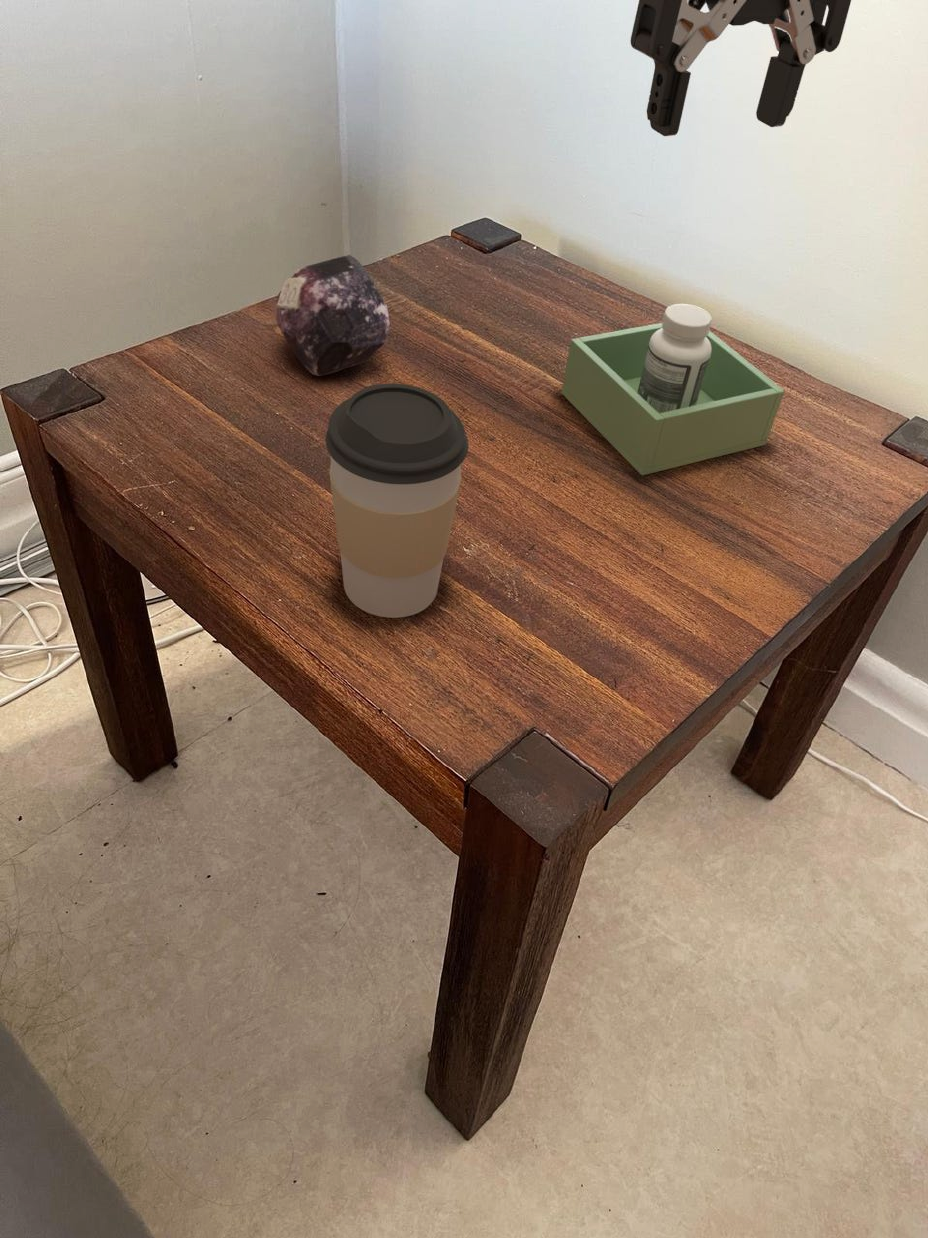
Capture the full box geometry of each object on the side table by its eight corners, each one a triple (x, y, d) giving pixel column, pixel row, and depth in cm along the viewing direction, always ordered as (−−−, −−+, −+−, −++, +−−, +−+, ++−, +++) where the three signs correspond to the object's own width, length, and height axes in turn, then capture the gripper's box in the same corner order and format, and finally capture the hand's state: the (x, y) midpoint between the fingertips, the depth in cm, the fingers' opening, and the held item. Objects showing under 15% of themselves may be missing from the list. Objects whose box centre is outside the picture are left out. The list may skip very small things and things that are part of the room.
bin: (678, 369, 96) (692, 316, 92) (765, 444, 88) (785, 390, 84) (561, 393, 91) (570, 338, 87) (641, 475, 83) (656, 419, 79)
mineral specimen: (276, 307, 94) (315, 217, 88) (372, 360, 96) (417, 277, 90) (246, 354, 87) (286, 260, 80) (350, 411, 89) (397, 324, 83)
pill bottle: (667, 392, 91) (693, 294, 85) (703, 422, 88) (734, 323, 81) (621, 404, 89) (644, 305, 82) (657, 435, 86) (684, 334, 79)
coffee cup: (403, 528, 75) (412, 354, 64) (478, 595, 70) (501, 419, 60) (303, 573, 70) (296, 393, 60) (377, 647, 66) (383, 467, 55)
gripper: (730, -193, 47) (658, 157, 58) (944, -181, 52) (839, 139, 63) (646, -213, 52) (594, 115, 63) (850, -200, 57) (767, 101, 68)
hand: (717, 127), depth 63 cm, fingers open, 8 cm apart
